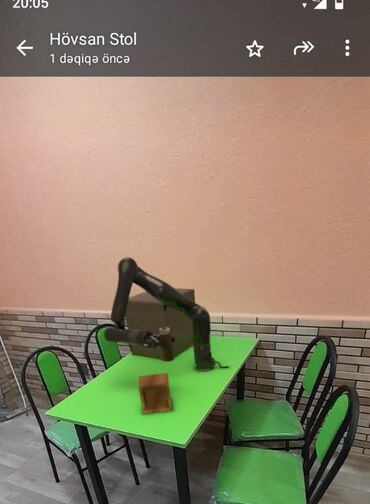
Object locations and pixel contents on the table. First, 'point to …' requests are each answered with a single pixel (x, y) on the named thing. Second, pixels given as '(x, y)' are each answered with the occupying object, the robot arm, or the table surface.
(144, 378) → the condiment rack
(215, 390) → the table surface
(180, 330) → the storage cube
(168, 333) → the pepper mill
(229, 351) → the table surface
